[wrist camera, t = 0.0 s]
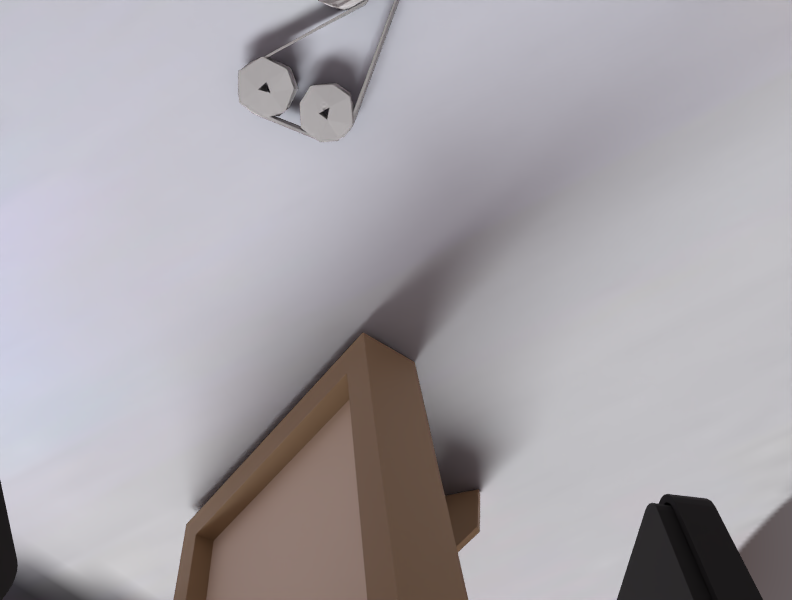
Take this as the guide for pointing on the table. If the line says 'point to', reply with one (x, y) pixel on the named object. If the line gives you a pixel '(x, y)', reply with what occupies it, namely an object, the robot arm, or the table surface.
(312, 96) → the pulley system
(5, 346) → the table surface
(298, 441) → the photo frame
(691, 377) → the table surface
